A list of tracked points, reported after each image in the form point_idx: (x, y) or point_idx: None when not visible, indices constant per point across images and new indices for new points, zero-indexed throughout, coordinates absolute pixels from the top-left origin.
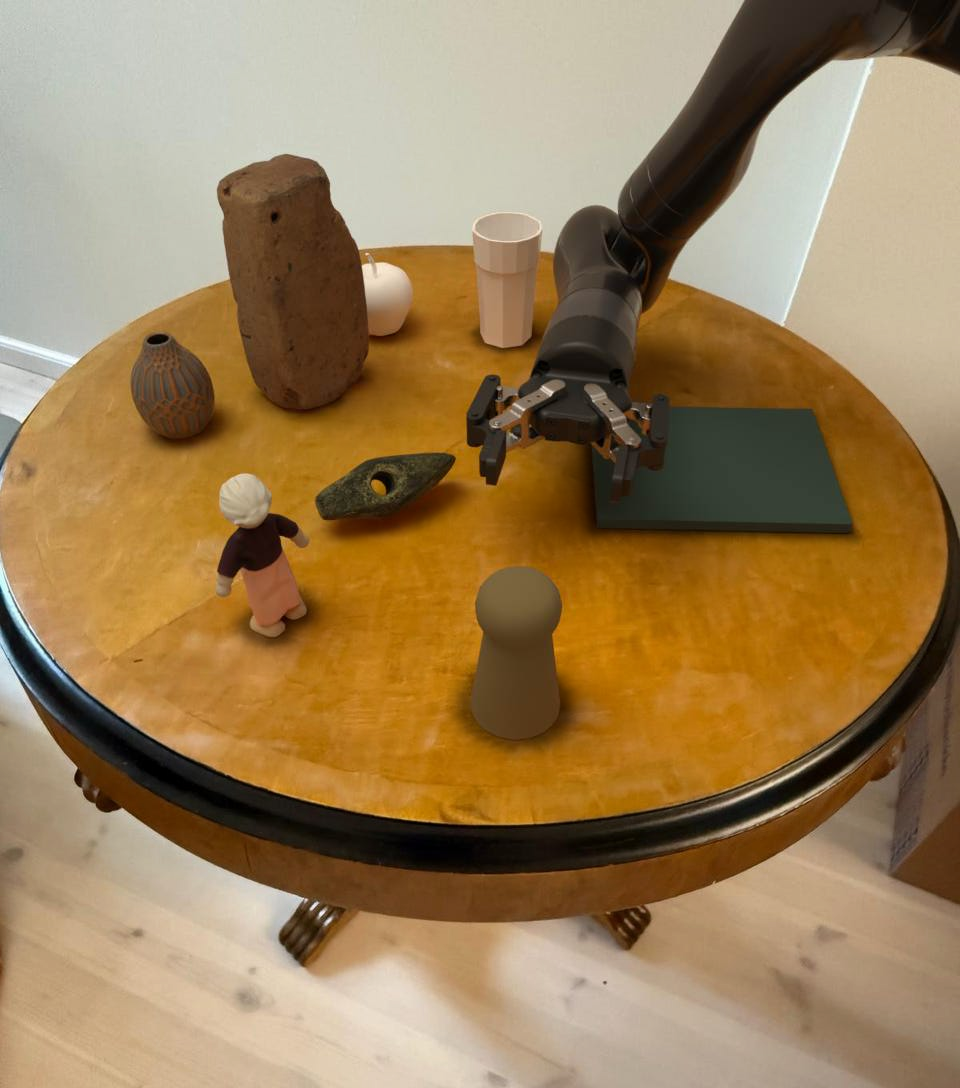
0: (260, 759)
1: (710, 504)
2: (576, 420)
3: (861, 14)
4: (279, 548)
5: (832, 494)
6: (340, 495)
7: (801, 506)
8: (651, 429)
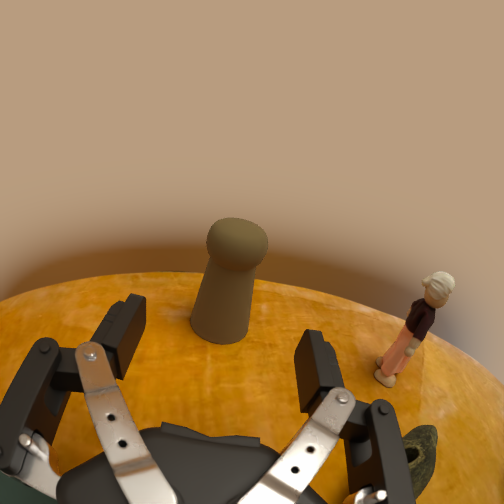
0: (336, 302)
1: (11, 483)
2: (191, 430)
3: None
4: (410, 323)
5: None
6: (424, 431)
7: None
8: (48, 369)
